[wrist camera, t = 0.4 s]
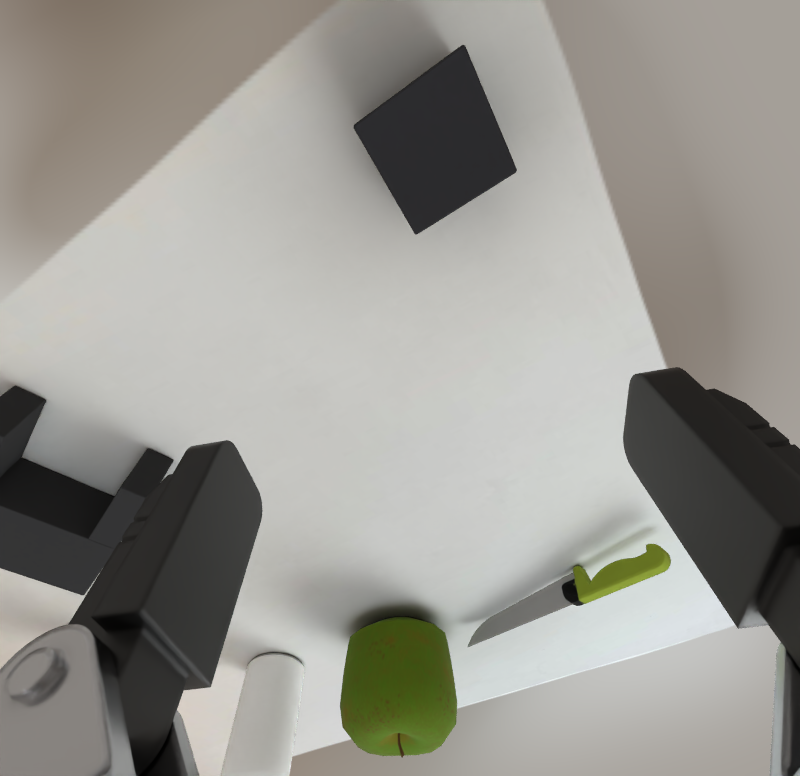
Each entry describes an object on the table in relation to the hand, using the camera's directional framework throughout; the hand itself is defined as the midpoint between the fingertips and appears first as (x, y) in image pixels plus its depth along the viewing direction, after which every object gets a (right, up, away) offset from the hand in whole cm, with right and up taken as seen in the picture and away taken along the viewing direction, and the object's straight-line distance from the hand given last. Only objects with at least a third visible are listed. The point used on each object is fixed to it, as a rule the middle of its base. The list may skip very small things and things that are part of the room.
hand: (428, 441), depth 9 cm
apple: (-1, -25, +38) cm, 46 cm away
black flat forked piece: (-26, -6, +25) cm, 37 cm away
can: (-15, -31, +42) cm, 54 cm away
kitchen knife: (+14, -18, +34) cm, 41 cm away
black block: (+1, +13, +13) cm, 19 cm away
